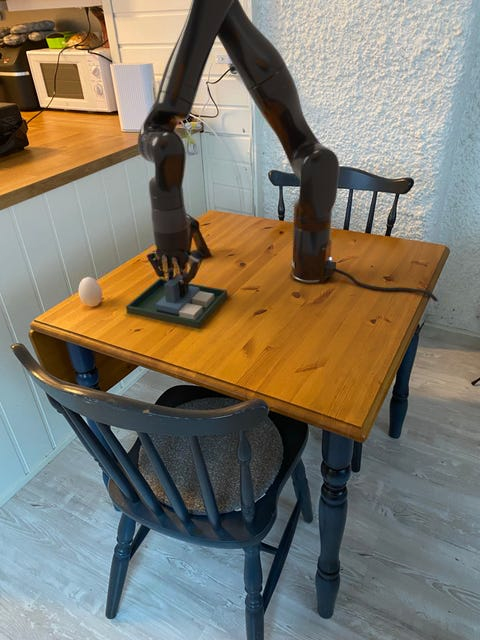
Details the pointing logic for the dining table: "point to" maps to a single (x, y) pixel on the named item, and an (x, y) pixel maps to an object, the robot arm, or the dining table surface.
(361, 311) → the dining table surface
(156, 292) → the tray
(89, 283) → the egg
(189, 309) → the cream slab tile
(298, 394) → the dining table surface
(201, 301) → the beige square tile
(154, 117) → the robot arm
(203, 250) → the dark grey a-frame stand
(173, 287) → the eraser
